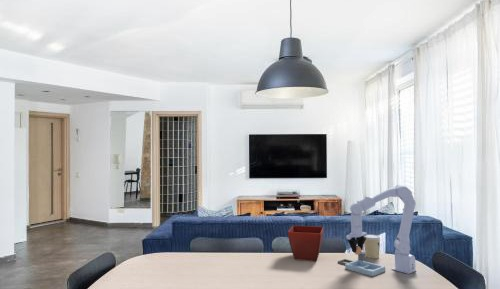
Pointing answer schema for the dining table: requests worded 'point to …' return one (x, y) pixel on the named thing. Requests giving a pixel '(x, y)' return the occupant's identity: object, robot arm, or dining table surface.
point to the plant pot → (305, 242)
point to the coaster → (343, 261)
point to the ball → (358, 250)
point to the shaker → (362, 256)
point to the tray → (365, 268)
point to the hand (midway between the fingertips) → (357, 251)
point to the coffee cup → (372, 246)
